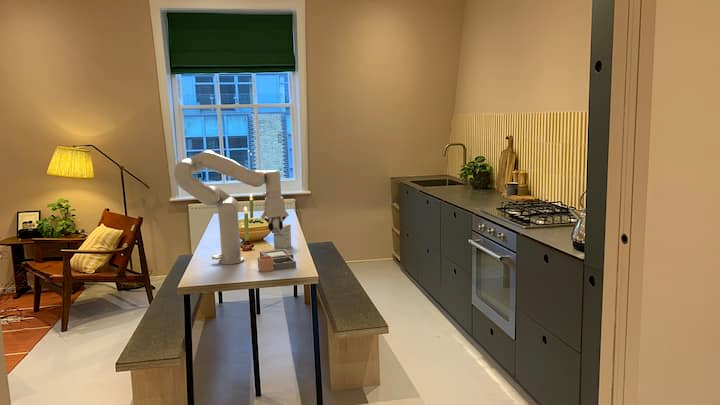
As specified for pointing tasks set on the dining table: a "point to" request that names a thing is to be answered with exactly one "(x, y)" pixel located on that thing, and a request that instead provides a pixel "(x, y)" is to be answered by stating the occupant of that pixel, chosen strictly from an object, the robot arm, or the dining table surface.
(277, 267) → the tray
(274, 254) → the pale green square panel
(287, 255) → the box
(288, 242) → the supplement box
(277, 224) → the cell
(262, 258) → the orange open cube box
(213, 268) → the dining table surface
